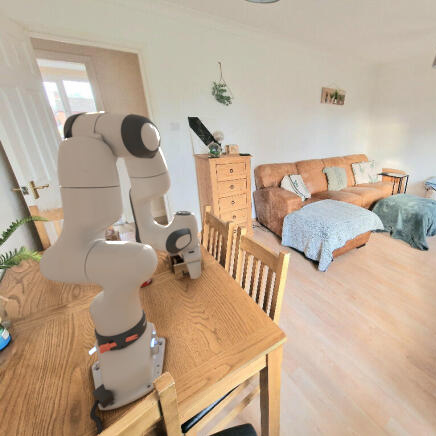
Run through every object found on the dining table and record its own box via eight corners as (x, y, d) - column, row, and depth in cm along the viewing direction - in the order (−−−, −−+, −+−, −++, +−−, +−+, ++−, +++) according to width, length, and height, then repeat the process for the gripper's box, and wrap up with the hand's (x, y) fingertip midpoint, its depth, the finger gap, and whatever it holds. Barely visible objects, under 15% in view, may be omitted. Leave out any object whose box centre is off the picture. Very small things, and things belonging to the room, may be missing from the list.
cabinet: (202, 264, 119) (200, 249, 116) (172, 272, 112) (169, 256, 109) (195, 249, 132) (193, 235, 129) (167, 255, 125) (165, 241, 122)
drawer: (206, 275, 109) (205, 263, 107) (177, 284, 103) (175, 271, 100) (197, 255, 125) (195, 244, 122) (171, 262, 118) (169, 250, 116)
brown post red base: (151, 284, 104) (146, 262, 99) (136, 288, 101) (130, 266, 96) (150, 277, 108) (146, 256, 104) (136, 281, 105) (130, 259, 101)
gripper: (176, 239, 105) (181, 265, 110) (185, 261, 89) (189, 291, 94) (191, 236, 108) (195, 262, 113) (202, 257, 92) (205, 286, 98)
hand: (192, 275), depth 104 cm, fingers closed
